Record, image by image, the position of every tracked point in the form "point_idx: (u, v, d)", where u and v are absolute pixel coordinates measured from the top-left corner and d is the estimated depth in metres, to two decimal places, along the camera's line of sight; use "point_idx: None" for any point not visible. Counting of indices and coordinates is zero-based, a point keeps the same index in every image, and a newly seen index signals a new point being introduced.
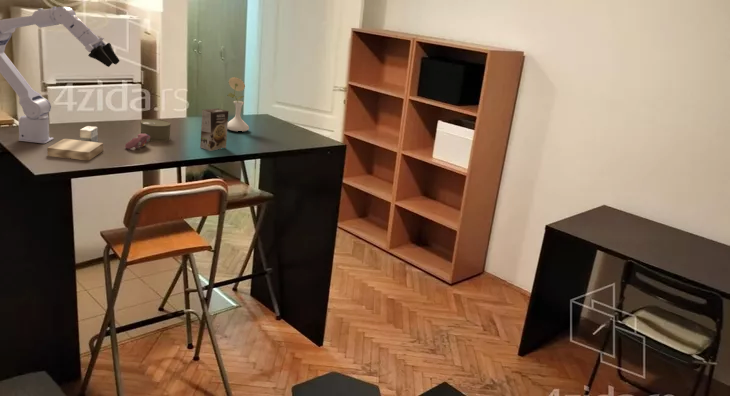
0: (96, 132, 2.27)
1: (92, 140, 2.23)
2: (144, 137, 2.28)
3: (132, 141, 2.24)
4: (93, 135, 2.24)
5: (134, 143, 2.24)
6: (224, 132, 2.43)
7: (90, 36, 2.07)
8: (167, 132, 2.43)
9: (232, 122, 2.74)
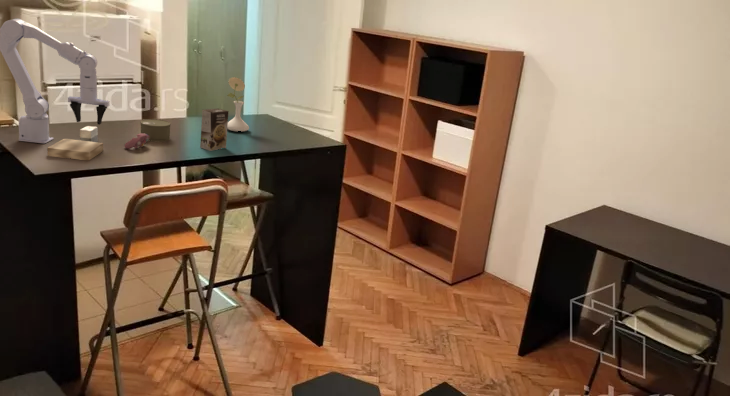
0: (96, 132, 2.27)
1: (92, 140, 2.23)
2: (143, 137, 2.28)
3: (132, 141, 2.24)
4: (93, 135, 2.24)
5: (133, 143, 2.24)
6: (224, 132, 2.43)
7: None
8: (167, 132, 2.43)
9: (232, 122, 2.74)
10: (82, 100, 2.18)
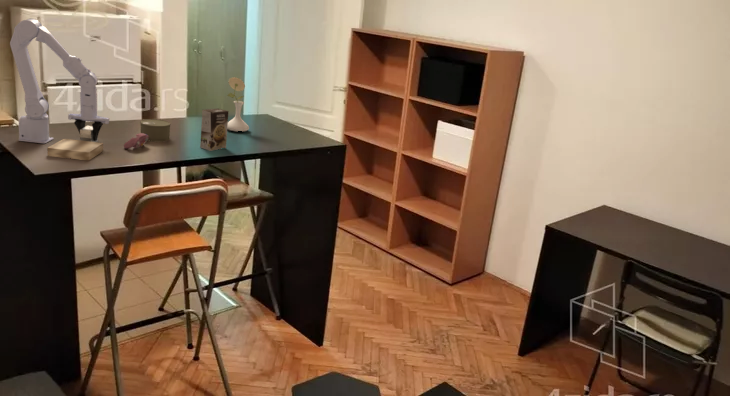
0: None
1: (92, 140, 2.23)
2: (143, 137, 2.28)
3: (131, 141, 2.24)
4: None
5: (133, 143, 2.24)
6: (224, 132, 2.43)
7: None
8: (167, 132, 2.43)
9: (232, 122, 2.74)
10: (82, 117, 2.20)
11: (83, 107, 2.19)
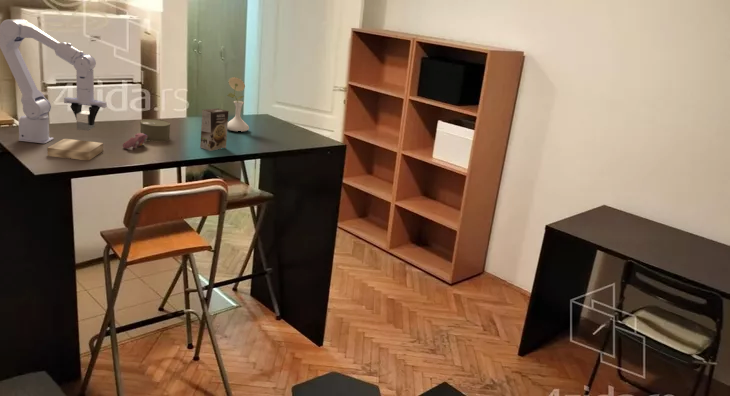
0: None
1: (89, 124, 2.18)
2: (142, 137, 2.28)
3: (130, 141, 2.24)
4: None
5: (132, 143, 2.24)
6: (224, 132, 2.43)
7: None
8: (167, 132, 2.43)
9: (232, 122, 2.74)
10: (79, 101, 2.14)
11: (79, 90, 2.13)
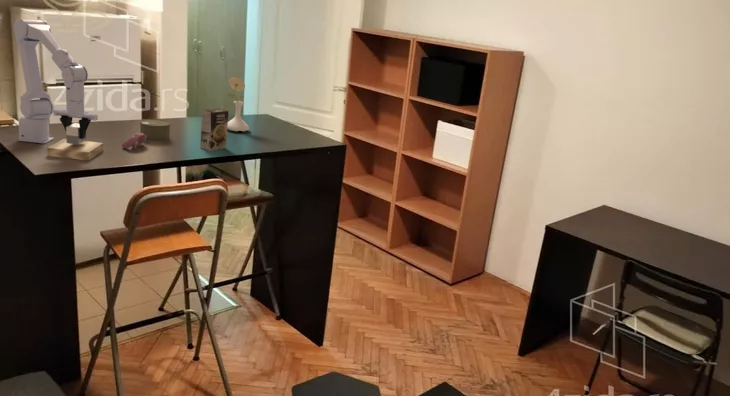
0: None
1: (79, 138, 2.08)
2: (141, 136, 2.28)
3: (129, 141, 2.24)
4: None
5: (131, 142, 2.24)
6: (224, 132, 2.43)
7: None
8: (167, 132, 2.43)
9: (232, 122, 2.74)
10: (68, 113, 2.04)
11: (69, 102, 2.03)
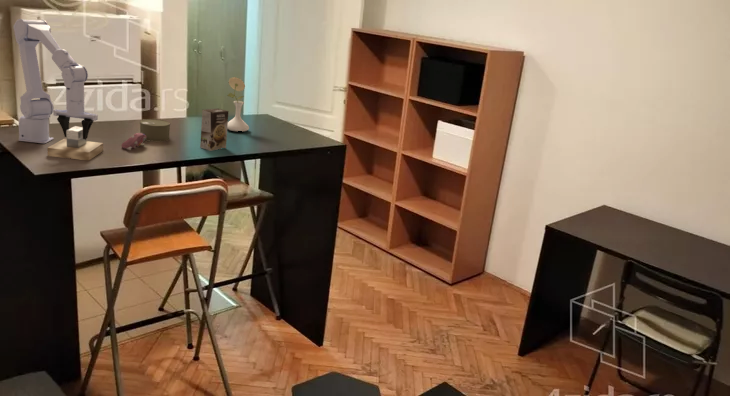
0: None
1: (79, 141, 2.09)
2: (140, 136, 2.28)
3: (129, 141, 2.24)
4: (81, 136, 2.09)
5: (130, 142, 2.24)
6: (224, 132, 2.43)
7: None
8: (166, 132, 2.43)
9: (232, 122, 2.74)
10: (68, 114, 2.04)
11: (69, 102, 2.03)
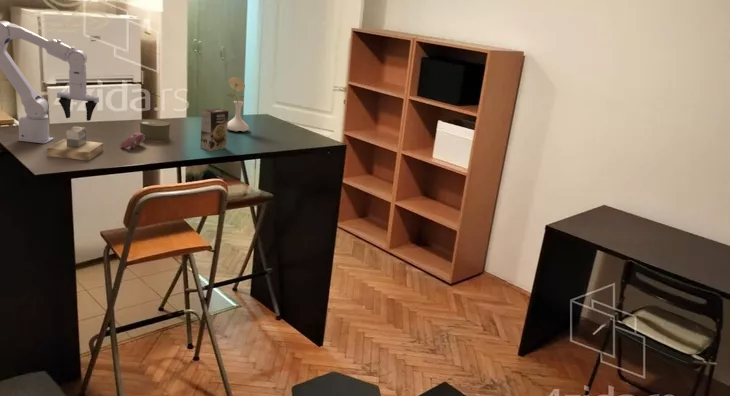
0: (84, 133, 2.12)
1: (79, 141, 2.09)
2: (139, 136, 2.28)
3: (128, 141, 2.24)
4: (81, 136, 2.09)
5: (129, 142, 2.24)
6: (224, 132, 2.43)
7: None
8: (166, 132, 2.44)
9: (232, 122, 2.74)
10: (71, 96, 2.16)
11: (72, 85, 2.15)
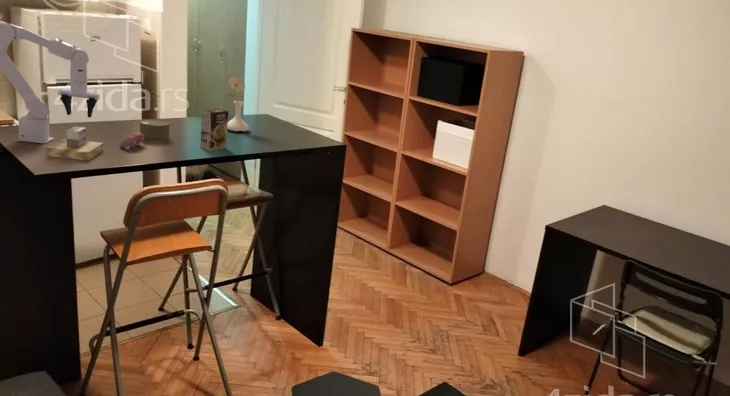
0: (84, 133, 2.12)
1: (79, 141, 2.09)
2: (138, 136, 2.28)
3: (127, 141, 2.24)
4: (81, 136, 2.09)
5: (129, 142, 2.24)
6: (224, 132, 2.43)
7: None
8: (166, 132, 2.44)
9: (232, 122, 2.74)
10: (72, 93, 2.20)
11: (73, 83, 2.19)
